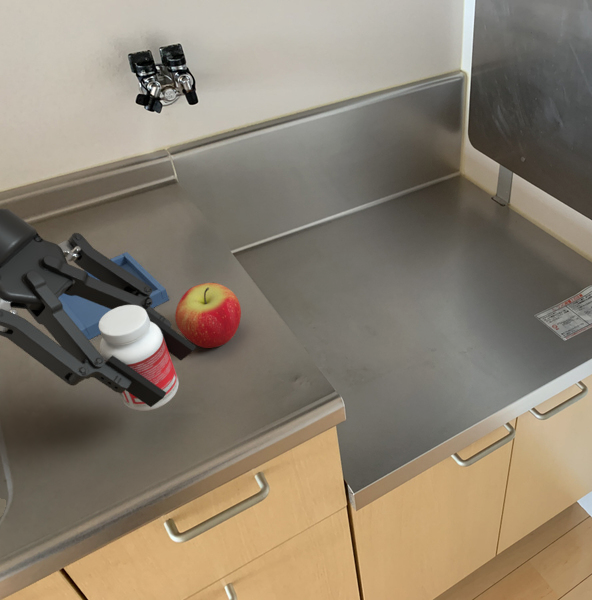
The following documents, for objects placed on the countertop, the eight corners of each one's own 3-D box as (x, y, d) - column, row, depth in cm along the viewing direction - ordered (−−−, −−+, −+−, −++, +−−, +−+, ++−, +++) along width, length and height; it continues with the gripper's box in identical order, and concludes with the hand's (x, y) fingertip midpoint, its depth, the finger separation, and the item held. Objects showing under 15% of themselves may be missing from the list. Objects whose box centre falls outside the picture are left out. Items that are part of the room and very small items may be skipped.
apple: (209, 369, 80) (192, 313, 73) (171, 339, 84) (152, 284, 78) (258, 335, 85) (246, 280, 78) (220, 309, 89) (206, 254, 82)
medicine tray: (85, 341, 84) (79, 330, 82) (50, 298, 91) (44, 287, 89) (169, 299, 90) (165, 289, 89) (130, 262, 97) (126, 251, 96)
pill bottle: (190, 378, 70) (167, 307, 63) (158, 419, 66) (129, 346, 59) (145, 366, 72) (117, 294, 65) (110, 404, 67) (76, 332, 60)
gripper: (25, 202, 67) (195, 330, 75) (-119, 317, 53) (111, 459, 61) (50, 163, 63) (228, 303, 71) (-98, 277, 49) (145, 436, 57)
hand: (173, 375), depth 66 cm, fingers closed on pill bottle, 6 cm apart
